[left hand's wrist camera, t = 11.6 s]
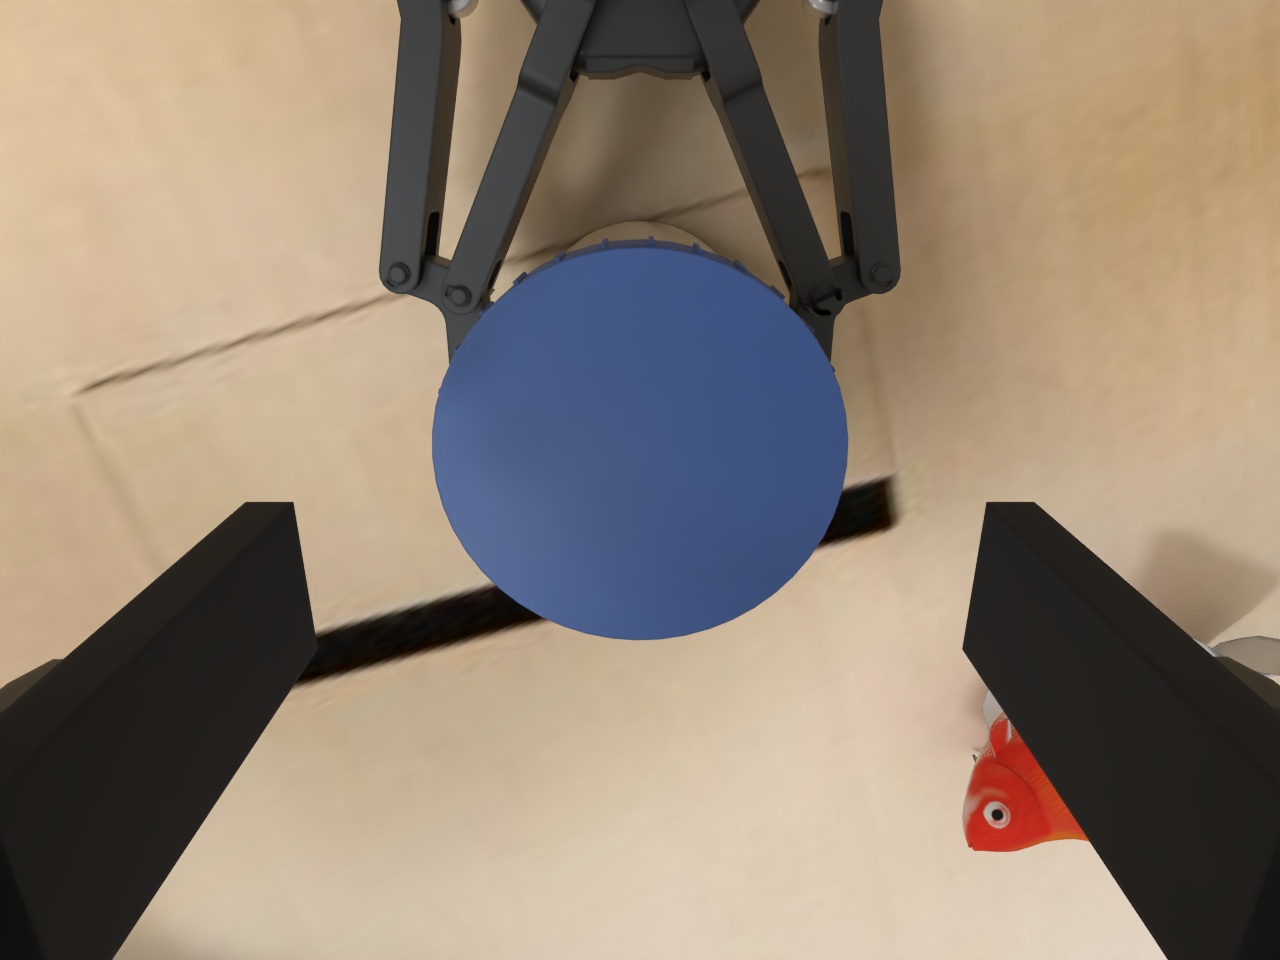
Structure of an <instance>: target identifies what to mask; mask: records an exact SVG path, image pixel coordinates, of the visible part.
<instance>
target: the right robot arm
mask: <svg viewBox="0 0 1280 960" xmlns="http://www.w3.org/2000/svg"><path fill="white" fill-rule="evenodd" d="M520 1H521V2H522V4H523V5H524V7H525V8H526V10H527V11H528V12H529V14H530V15H531V17H532V18H533V20H534V21H535V23H536V24H537V28H536V30H535V33H534V35H533V38H532V41H531V43H530V46H529V49H528V51H527V54H526V57H525V59H524V62H523V65H522V68H521V71H520V74H519V79H518V85H517V88H516V91H515V94H514V97H513V99H512V102H511V105H510V107H509V110H508V113H507V115H506V118H505V120H504V123H503V126H502V128H501V131H500V134H499V136H498V139H497V142H496V144H495V147H494V149H493V152H492V155H491V157H490V160H489V163H488V165H487V168H486V171H485V173H484V176H483V179H482V181H481V184H480V186H479V189H478V192H477V194H476V197H475V200H474V202H473V205H472V208H471V210H470V213H469V215H468V218H467V221H466V223H465V226H464V229H463V231H462V234H461V237H460V239H459V242H458V245H457V247H456V250H455V252H454V255H453V258H452V260H449V259H446V258H443V257H440V256H438V253H439V244H440V235H441V226H442V218H443V209H444V200H445V191H446V182H447V173H448V164H449V155H450V147H451V138H452V129H453V120H454V111H455V102H456V93H457V84H458V76H459V67H460V57H461V24H460V18H463V17H466V16H468V15H470V14H471V13H472V12H473V11H474V10H475V8H476V7H477V3H478V0H397V3H398V7H399V12H400V16H401V26H400V38H399V49H398V60H397V72H396V83H395V94H394V106H393V117H392V128H391V140H390V151H389V163H388V174H387V185H386V197H385V208H384V219H383V231H382V242H381V253H380V265H379V275H380V279H381V281H382V283H383V285H384V286H385V287H386V288H387V289H388V290H389V291H391V292H394V293H396V294H405V293H407V294H409V295H412V296H415V297H418V298H421V299H423V300H426V301H429V302H431V303H433V304H434V305H435V306H436V307H438V308H439V310H440V311H441V312H442V314H443V316H444V318H445V322H446V330H447V341H448V353H449V365H450V363H451V361H452V359H453V356H454V354H455V353H454V350H455V348H456V347H457V346H458V345H459V344H460V343H461V342H462V341H463V340H464V338H465V337H466V335H467V334H468V332H469V331H470V330H471V328H472V327H473V326H474V325H475V324H476V322H477V321H478V320H479V319H480V318H481V316H480V315H479V313H480V312H481V311H482V310H483V309H484V308H485V307H486V306H487V305H488V304H489V303H490V296H491V294H492V293H493V291H494V290H495V289H493V287H494V284H495V282H496V279H497V277H498V274H499V272H500V269H501V267H502V264H503V262H504V259H505V257H506V254H507V252H508V249H509V247H510V244H511V242H512V239H513V237H514V234H515V232H516V229H517V227H518V224H519V222H520V219H521V217H522V214H523V212H524V210H525V207H526V205H527V202H528V200H529V197H530V195H531V192H532V190H533V187H534V185H535V182H536V180H537V177H538V175H539V172H540V170H541V167H542V165H543V162H544V160H545V157H546V155H547V152H548V150H549V147H550V145H551V142H552V140H553V137H554V135H555V132H556V130H557V127H558V125H559V122H560V120H561V117H562V115H563V113H564V110H565V109H566V107H567V105H568V103H569V101H570V99H571V97H572V94H573V92H574V89H575V87H576V84H577V82H578V79H579V77H580V74H582V75H585V76H588V78H589V79H618V78H621V77H624V76H628V75H631V74H634V73H638V72H642V73H646V74H649V75H653V76H656V77H659V78H663V79H691V78H692V77H693V76H695V75H699V74H700V76H701V79H702V81H703V84H704V86H705V89H706V91H707V94H708V96H709V98H710V101H711V103H712V105H713V107H714V108H715V110H716V112H717V114H718V117H719V119H720V122H721V124H722V127H723V129H724V132H725V134H726V137H727V139H728V142H729V144H730V147H731V149H732V152H733V154H734V157H735V159H736V162H737V164H738V167H739V169H740V172H741V174H742V177H743V179H744V182H745V184H746V187H747V189H748V192H749V194H750V197H751V199H752V202H753V204H754V207H755V209H756V212H757V214H758V217H759V219H760V222H761V224H762V227H763V229H764V232H765V234H766V236H767V239H768V241H769V244H770V246H771V249H772V251H773V254H774V256H775V259H776V261H777V264H778V266H779V269H780V271H781V274H782V276H783V279H784V281H785V284H786V286H787V289H788V291H789V293H790V300H789V307H790V308H791V309H792V310H793V311H794V312H795V313H796V314H797V315H798V316H799V317H800V318H802V319H803V320H804V321H805V322H806V323H808V324H809V325H810V326H811V327H812V328H813V330H814V331H815V332H814V333H813V335H814V336H815V338H816V339H817V341H818V343H819V344H820V346H821V348H822V350H823V351H824V353H825V355H826V357H827V358H828V360H829V362H831V350H832V338H833V326H834V321H835V317H836V315H838V314H839V313H840V312H841V310H842V309H843V307H844V305H846V304H847V303H849V302H851V301H853V300H856V299H859V298H862V297H865V296H867V295H870V294H873V293H874V294H883V293H886V292H888V291H890V290H891V289H893V288H894V287H895V286H896V284H897V282H898V281H899V279H900V271H901V269H900V257H899V246H898V234H897V223H896V211H895V200H894V188H893V177H892V166H891V154H890V143H889V131H888V120H887V108H886V97H885V85H884V74H883V63H882V51H881V40H880V28H879V16H880V11H881V7H882V2H883V0H802V4H803V7H804V8H805V10H806V11H807V13H809V14H810V15H811V16H813V17H816V18H820V24H819V58H820V67H821V76H822V85H823V94H824V103H825V112H826V121H827V130H828V139H829V148H830V157H831V166H832V174H833V183H834V192H835V201H836V210H837V219H838V228H839V237H840V246H841V255H842V256H839V257H837V258H834V259H831V260H828V257H827V255H826V252H825V249H824V247H823V244H822V241H821V239H820V236H819V234H818V231H817V228H816V226H815V223H814V220H813V218H812V215H811V212H810V210H809V207H808V204H807V202H806V199H805V197H804V194H803V191H802V189H801V186H800V183H799V181H798V178H797V175H796V173H795V170H794V167H793V165H792V162H791V160H790V157H789V154H788V152H787V149H786V146H785V144H784V141H783V138H782V136H781V133H780V131H779V128H778V125H777V123H776V120H775V117H774V115H773V112H772V109H771V107H770V104H769V101H768V99H767V96H766V94H765V91H764V88H763V84H762V77H761V73H760V70H759V67H758V64H757V61H756V59H755V56H754V53H753V51H752V48H751V46H750V43H749V40H748V38H747V35H746V32H745V30H744V27H743V25H744V23H745V22H746V20H747V19H748V17H749V16H750V14H751V13H752V11H753V10H754V9H755V7H756V6H757V4H758V3H759V1H760V0H520Z"/></svg>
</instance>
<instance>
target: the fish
mask: <svg viewBox="0 0 1280 960" xmlns="http://www.w3.org/2000/svg"><path fill="white" fill-rule="evenodd" d="M1194 640H1195V639H1194ZM1195 641H1196V642H1197V643H1198V644H1200V645H1201V646H1202V647H1203V648H1204V649H1205V650H1207V651H1208V652H1209V653H1210V654H1211V655H1212V656H1213V657H1230V658H1231V659H1233V660H1235V661H1237V662H1239V663H1241V664H1243V665H1245V666H1247V667H1249V668H1250V669H1252V670H1254V671H1256V672H1258V673H1260V674H1262V675H1264V676H1266V677H1270V676H1278V675H1280V640H1279V639H1274V638H1269V637H1264V636H1254V637H1246V638H1240V639H1235V640H1231V641H1226V642H1222V643H1219V644H1218V645H1216V646H1215V647H1213V648H1211V647H1209V646H1207V645H1205V644H1203V643H1201V642H1199V641H1197V640H1195ZM983 716H984V719H985V721H986V724H987V726H988V728H989V743H988V744H987V745H986V746H985V747H984V748H983V749H982V750H981V752H980V754H979V756H978V758H977V757H976V756H975V755H973V758H974V760H975V765H974V768H973V770H972V773H971V777H970V780H969V784H968V787H967V791H966V796H965V800H964V806H963V815H962V819H963V829H964V833H965V837H966V840H967V843H968V846H969V848H971V847H972V849H973V850H974V851H993V852H1010V851H1018V850H1021V849H1024V848H1028V847H1031V846H1033V845H1036V844H1039V843H1042V842H1047V841H1054V840H1062V839H1079V840H1086V841H1089V840H1088V838H1087V837H1086V835H1085V834H1084V832H1083V831H1082V829H1081V828H1080V826H1079V825H1078V823H1077V822H1076V820H1075V819H1074V817H1073V816H1072V814H1071V813H1070V811H1069V810H1068V808H1067V807H1066V805H1065V804H1064V802H1063V801H1062V799H1061V797H1060V796H1059V794H1058V793H1057V791H1056V790H1055V788H1054V787H1053V785H1052V784H1051V782H1050V781H1049V779H1048V778H1047V776H1046V775H1045V773H1044V772H1043V770H1042V769H1041V767H1040V766H1039V764H1038V763H1037V761H1036V760H1035V758H1034V757H1033V755H1032V754H1031V752H1030V751H1029V749H1028V748H1027V746H1026V745H1025V743H1024V742H1023V740H1022V739H1021V737H1020V736H1019V734H1018V733H1017V731H1016V730H1015V728H1014V726H1013V725H1012V723H1011V722H1010V720H1009V719H1008V717H1007V716H1006V714H1005V713H1004V711H1003V710H1002V708H1001V707H1000V705H999V704H998V702H997V701H996V699H995V698H994V696H993V695H992V693H991V692H990V690H989V689H988V692H987V695H986V698H985V701H984V703H983ZM1089 842H1090V841H1089Z"/></svg>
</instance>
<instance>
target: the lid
mask: <svg viewBox="0 0 1280 960" xmlns="http://www.w3.org/2000/svg"><path fill="white" fill-rule="evenodd" d="M513 284H514V285H513V286H512V287H511V288H510V289H509V290H508V291H507V292H506V293H505V294H503V295H502V296H501V297H500V298H499V299H498V300H497V301H496V302H495V303H494V302H493V301H491V302H490V303H489V304H488V305H487V306H486V307H485V308H484V309H483V310H482V311H481V312H480V313H479V315H480V316H481V318H480V319H479V320H478V321H477V322H476V324H475V325H474V326H473V327H472V328H471V330H470V331H469V332H468V334H467V335H466V337H465V338H464V340H463V341H462V342H461V343H460V344H459V345H458V346H457V347H456V348H455V350H454V353H455V354H454V356H453V359H452V361H451V363H450V365H449V368H448V370H447V372H446V374H445V377H444V379H443V382H442V385H441V388H440V389H439V392H438V394H439V396H438V400H437V403H436V408H435V415H434V423H433V430H432V458H433V465H434V472H435V478H436V484H437V487H438V491H439V494H440V498H441V501H442V505H443V508H444V510H445V512H446V515H447V517H448V519H449V522H450V524H451V526H452V528H453V530H454V532H455V534H456V535H457V537H458V539H459V540H460V542H461V544H462V545H463V547H464V549H465V550H466V552H467V553H468V554H469V556H470V557H471V558H472V559H473V561H474V562H475V563H476V565H477V566H478V567H479V568H480V570H481V571H482V572H483V573H484V574H485V575H486V576H487V577H488V578H489V579H490V580H491V581H492V582H493V583H494V584H495V585H496V586H497V587H498V588H499V589H501V590H502V591H503V592H505V593H506V594H507V595H509V596H510V597H511V598H513V599H514V600H515V601H516V602H518V603H519V604H521V605H522V606H524V607H526V608H527V609H529V610H531V611H532V612H534V613H536V614H538V615H539V616H541V617H543V618H546V619H548V620H550V621H552V622H555V623H557V624H559V625H561V626H564V627H567V628H570V629H573V630H577V631H580V632H583V633H586V634H591V635H596V636H602V637H607V638H613V639H627V640H654V639H666V638H672V637H679V636H685V635H689V634H693V633H696V632H700V631H704V630H707V629H711V628H713V627H716V626H718V625H721V624H723V623H726V622H728V621H731V620H733V619H735V618H737V617H738V616H740V615H742V614H744V613H746V612H748V611H750V610H751V609H753V608H755V607H756V606H758V605H759V604H761V603H762V602H763V601H765V600H766V599H768V598H769V597H770V596H772V595H773V594H775V593H776V592H777V591H778V590H779V589H780V588H781V587H782V586H783V585H785V584H786V583H787V582H788V581H789V580H790V579H791V578H792V577H793V576H794V575H795V574H796V573H797V572H798V570H799V569H800V568H801V567H802V566H803V565H804V563H805V562H806V561H807V560H808V559H809V558H810V556H811V555H812V553H813V552H814V550H815V549H816V547H817V545H818V544H819V542H820V541H821V539H822V538H823V536H824V534H825V532H826V530H827V528H828V526H829V524H830V522H831V520H832V518H833V516H834V513H835V510H836V507H837V504H838V501H839V498H840V495H841V492H842V489H843V483H844V478H845V473H846V467H847V453H848V432H847V421H846V412H845V408H844V404H843V399H842V395H841V391H840V387H839V385H838V382H837V380H836V377H835V374H834V372H835V369H834V367H833V366H832V365H831V364H830V362H829V360H828V358H827V357H826V355H825V353H824V351H823V350H822V348H821V346H820V344H819V343H818V341H817V339H816V338H815V336H814V335H813V333H814V332H815V331H814V330H813V328H812V327H811V326H810V325H809V324H808V323H806V322H805V321H804V320H803V319H802V318H800V317H799V316H798V315H797V314H796V313H795V312H794V311H793V310H792V309H791V308H790V307H789V306H788V305H787V304H786V303H785V302H784V301H783V299H784V297H785V296H784V295H783V294H781V293H780V292H779V291H778V290H777V289H776V288H775V287H774V286H773V285H772V286H771V287H770V288H769V287H768V286H767V285H766V284H765V283H763V282H762V281H761V280H759V279H758V278H757V277H755V276H754V275H752V274H751V273H750V272H748V271H747V269H746V268H745V267H744V266H743V265H742V264H741V263H740V262H739V261H738V260H735V262H734V263H733V262H731V261H729V260H727V259H725V258H724V257H721V256H719V255H716V254H713V253H711V252H708V251H706V250H703V249H701V247H700V246H699V245H698V244H697V243H694V244H693V246H689V245H685V244H680V243H676V242H672V241H661V240H654V237H653V236H649V239H634V240H616V241H611V242H608V238H605V239H603V241H602V243H600V244H595V245H590V246H587V247H584V248H581V249H578V250H575V251H572V252H569V253H566V254H565V251H564V250H563V251H561V252H560V253H559V254H558V255H557V256H556V257H555V258H554V259H553V260H551V261H549V262H547V263H545V264H543V265H541V266H540V267H538V268H537V269H535V270H534V271H532V272H531V273H529V274H528V275H527V274H526V273H525V272H524V273H522V274H521V275H520V276H519V277H518V278H517V279H516V280H515V281H514V282H513Z"/></svg>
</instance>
